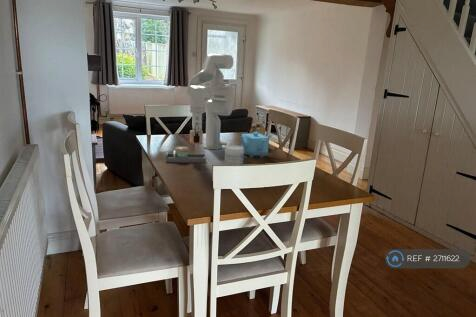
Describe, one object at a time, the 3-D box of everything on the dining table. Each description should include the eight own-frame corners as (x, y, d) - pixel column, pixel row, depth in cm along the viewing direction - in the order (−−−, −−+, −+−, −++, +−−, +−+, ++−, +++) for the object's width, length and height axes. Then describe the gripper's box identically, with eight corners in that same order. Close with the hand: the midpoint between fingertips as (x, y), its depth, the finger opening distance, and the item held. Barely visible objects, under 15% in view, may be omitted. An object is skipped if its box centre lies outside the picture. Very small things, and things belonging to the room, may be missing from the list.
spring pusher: (175, 157, 205) (175, 150, 204) (174, 161, 199) (175, 153, 198) (173, 157, 205) (173, 150, 204) (173, 161, 199) (173, 153, 197)
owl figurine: (243, 143, 254) (244, 120, 249) (257, 143, 258) (259, 119, 254) (254, 149, 238) (255, 124, 233) (269, 148, 243) (271, 124, 238)
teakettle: (245, 150, 235) (246, 128, 231) (272, 154, 228) (274, 131, 224) (235, 156, 218) (236, 133, 214) (264, 161, 211) (265, 137, 207)
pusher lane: (204, 158, 209) (204, 151, 208) (205, 163, 200) (205, 155, 199) (166, 158, 206) (166, 150, 205) (166, 162, 197) (165, 155, 196)
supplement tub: (244, 177, 180) (246, 149, 176) (226, 177, 178) (227, 149, 174) (240, 171, 189) (241, 144, 185) (222, 172, 187) (223, 144, 183)
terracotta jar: (202, 141, 205) (202, 130, 203) (202, 144, 198) (203, 132, 196) (189, 141, 204) (189, 129, 202) (189, 144, 197) (190, 132, 195)
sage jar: (187, 158, 207) (188, 146, 205) (188, 161, 200) (188, 149, 198) (175, 158, 205) (175, 146, 204) (175, 161, 199) (175, 149, 197)
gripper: (204, 112, 189) (203, 144, 193) (202, 108, 205) (202, 138, 210) (190, 111, 187) (189, 144, 192) (189, 107, 204) (189, 137, 208)
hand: (196, 140), depth 201 cm, fingers closed on terracotta jar, 7 cm apart
